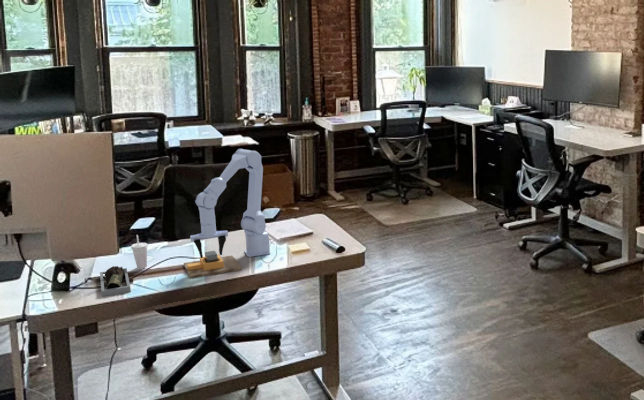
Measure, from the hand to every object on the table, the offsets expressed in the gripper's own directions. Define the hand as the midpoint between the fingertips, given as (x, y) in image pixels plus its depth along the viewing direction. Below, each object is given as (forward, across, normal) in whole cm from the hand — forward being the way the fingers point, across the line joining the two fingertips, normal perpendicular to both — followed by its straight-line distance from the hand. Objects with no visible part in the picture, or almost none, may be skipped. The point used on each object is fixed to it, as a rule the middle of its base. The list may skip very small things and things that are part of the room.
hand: (211, 255), depth 252 cm
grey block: (+5, 0, 0) cm, 5 cm away
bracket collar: (+4, +3, 0) cm, 5 cm away
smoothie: (+5, +26, -13) cm, 30 cm away
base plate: (+5, 0, 0) cm, 5 cm away
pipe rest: (+5, +37, +1) cm, 37 cm away
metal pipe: (+5, +37, +1) cm, 37 cm away
